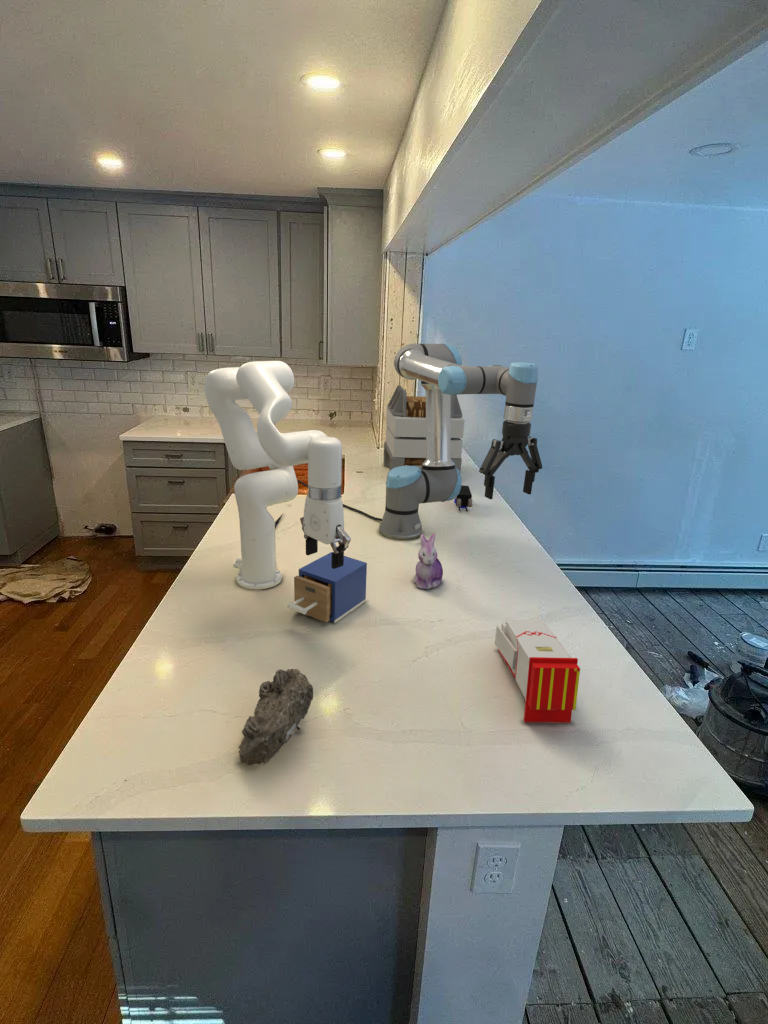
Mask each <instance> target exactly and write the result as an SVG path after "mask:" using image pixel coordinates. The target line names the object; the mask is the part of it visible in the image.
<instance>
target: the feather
mask: <svg viewBox="0 0 768 1024" xmlns="http://www.w3.org/2000/svg"><path fill="white" fill-rule="evenodd" d="M283 515H284V513H282V514H281V515H280V516H279V517H278V518H277V520H275V529H276V528H277V526H278V525H279V522H280V520H281V519H282V517H283Z"/></svg>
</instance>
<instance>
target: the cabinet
mask: <svg viewBox="0 0 768 1024" xmlns="http://www.w3.org/2000/svg"><path fill="white" fill-rule="evenodd" d="M333 552H334V551H330V552H329V553H327V554H326V555H323V556H321V557H319V558H317V559H315V560H314V561H312V562H310V563H308V564H306V565H304V566H302V567H300V568H298V576H300V577H303V578H304V575H306V576H309V577H312V578H315V579H317V580H320V581H323V582H326V583H329V584H332V614H331V615H330V621H329V622H332V623H333V624H335V623H337V622H338V621H340V620H341V619H343V618H344V617H345V616H347V615H349V614H350V613H351V612H353V611H354V610H356V609H357V608H359V607H360V606H361V605H362V604H364V603H366V602H367V573H368V571H367V570H368V562H366V561H362V560H359V559H356V558H354V557H349V556H346V555H344V565H343V566H341V567H338V568H335V569H333V568H332V567H331V564H332V553H333Z"/></svg>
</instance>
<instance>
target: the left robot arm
mask: <svg viewBox="0 0 768 1024" xmlns="http://www.w3.org/2000/svg"><path fill="white" fill-rule="evenodd" d="M203 385H204V387H203V388H204V395H205V399H206V402H207V404H208V407H209V409H210V411H211V413H212V414H213V416H214V418H215V419H216V421H217V423H218V426H219V429H220V432H221V435H222V438H223V441H224V444H225V448H226V451H227V454H228V457H229V460H230V462H231V465H232V466H233V468H235V469H236V470H239V471H247V470H248V471H249V470H255V469H261V468H269V470H263V471H262V470H261V471H255V472H251V473H246V474H244V475H242V476H240V477H238V478H237V479H236V481H235V483H234V487H233V490H234V491H233V492H234V497H235V502H236V505H237V511H238V519H239V534H240V535H239V536H240V555H241V556H240V557H241V558H240V557H237V558H236V560H235V562H234V563H233V568H234V569H237V570H239V573H238V574H237V575H236V583H237V584H238V586H240V587H242V588H244V589H248V590H266V589H270V588H273V587H275V586H277V585H279V584H280V583H281V582H282V580H283V576H282V572H281V571H279V570H278V569H277V549H276V548H277V547H276V546H277V545H276V544H277V543H276V528H275V524H276V523H275V522H276V520H275V519H274V517H273V516H272V514H271V513H270V512H269V511H268V509H267V508H268V507H270V506H274V505H279V504H284V503H288V502H291V501H293V500H295V499H296V498H297V496H298V493H299V482H297V481H298V478H297V475H296V471H295V468H294V466H299V465H305V464H307V485H308V488H307V490H308V491H307V494H306V497H305V500H304V501H305V502H304V509H303V516H302V517H300V518H299V520H300V524H301V530H302V532H303V534H304V535H303V538H304V539H305V555H306V556H311V555H314V554H317V553H318V551H319V550H318V545H319V544H318V543H319V542H320V543H322V544H323V545H324V544H325V545H330V547H331V549H332V552H333V553H332V564H331V567H332V568H333V569H335V568H338V567H341V566H343V565H344V556H345V551H346V550H347V549H348V548H349V545H350V543H351V541H352V538H351V536H350V535H349V534H348V532H347V531H345V514H344V513H345V512H344V507H343V504H344V503H343V500H342V478H343V477H342V476H343V473H342V470H343V444H342V442H341V440H340V439H338V438H336V437H334V436H328V435H327V434H326V433H325V432H323V431H321V430H318V429H309V430H299V431H298V430H297V431H289V432H284V433H282V432H280V431H279V430H278V428H277V427H276V426H275V425H277V424H278V423H280V422H282V420H284V419H285V418H286V417H287V416H288V415H289V413H290V412H291V410H292V407H293V406H292V405H293V401H292V398H291V397H290V395H289V394H288V393H290V392H291V391H292V389H293V388H294V385H295V375H294V373H293V371H292V368H291V367H290V366H289V365H288V364H287V363H286V362H285V361H281V360H254V361H249V362H245V363H243V364H242V365H240V366H230V367H221V368H220V367H219V368H217V369H214V370H211V371H209V372H208V374H207V375H206V376H205V379H204V384H203ZM238 400H241V401H242V400H248V401H249V402H250V403H251V405H252V406H253V408H254V409H255V411H256V412H257V413H258V418H257V423H256V430H255V427H254V425H253V421H252V418H251V416H250V415H249V413H248V412H247V411H246V410H245V409H244V408H243V407H242V406H241V405H240V404H238V403H237V402H236V401H238ZM336 543H337V544H338V546H337V544H336Z"/></svg>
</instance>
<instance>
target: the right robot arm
mask: <svg viewBox="0 0 768 1024" xmlns="http://www.w3.org/2000/svg"><path fill="white" fill-rule="evenodd" d="M393 366H394V369H395V372H396V373H397V374H398V375H399V376H400V377H402V378H404V379H406V380H410V381H414V380H418V381H420V385H421V387H422V388H423V389H424V390H425V397H426V460H425V461H424V462H423V463H422V466H421V467H420V466H407V465H404V466H399V467H396V468H393V469H391V470H390V469H389V470H388V472H387V475H386V480H385V504H384V505H385V507H384V508H385V509H384V513H383V515H382V518H380V517H375V516H373V515H370V514H369V513H367V512H364V511H363V510H360V509H357V508H355V507H352V506H349V505H347V504H344V503H342V504H343V508H345V509H348V510H351V511H354V512H355V513H358V514H361V515H363V516H365V517H367V518H369V519H371V520H374V521H378V522H379V526H378V533H379V534H380V535H381V536H382V537H385V538H387V539H389V540H395V541H410V540H415V539H418V538H420V536H421V534H423V525H422V524H421V518H420V515H419V507H420V506H419V505H420V504H429V503H439V502H440V503H445V502H449V501H453V500H454V499H455V498H456V497H457V495H458V494H459V492H460V489H461V485H462V484H463V482H462V481H463V479H462V475H461V474H460V471H459V470H458V469H457V468H455V463H454V462H453V461H452V460H451V395H457V396H459V395H502V396H505V403H504V411H503V419H504V420H503V422H502V429H501V434H502V438H501V440H498V439H495V438H493V439H492V441H491V445H490V448H489V449H488V452H487V454H486V455H485V458H484V459H483V461H482V464H481V465H480V467H479V470H478V471H479V474H482V475H484V481H483V486H484V497H485V498H487V499H488V500H493V498H494V489H495V481H496V476H494V474H495V473H496V472H497V470H498V469H499V468H500V467H501V465H502V464H503V463H504V461H505V460H506V459H508V458H510V457H513V456H520V458H521V459H522V462H524V464H525V466H526V468H527V469H526V470H525V472H524V473H525V474H524V481H523V486H522V487H523V488H522V492H523V493H525V494H527V495H532V492H533V491H532V490H533V483H534V482H535V480H536V479H535V478H536V474H537V473H539V471H540V470H542V469H543V463H542V459H541V455H540V453H539V449H538V438H537V437H533V436H531V428H532V424H531V422H532V420H533V414H534V406H535V405H534V404H535V400H536V399H535V398H536V391H537V385H538V381H539V378H538V375H539V366H538V364H537V363H533V362H526V361H513V362H511V363H510V364H509V366H508V367H507V366H503V365H500V364H490V365H488V366H487V365H485V366H481V365H480V366H479V365H477V366H472V365H470V366H469V365H463V360H462V356H461V353H460V350H458V348H457V347H456V346H455V345H453V344H447V343H418V342H417V343H416V342H415V343H409V344H406V345H403V346H402V347H401V348H400V349H398V351H397V352H396V353H395V356H394V359H393ZM526 447H528V449H527V448H526ZM297 482H298V484H300V485H302V486H304V487H305V488H307V489H308V484H307V483H305V482H303V481H301V480H299V479H297Z"/></svg>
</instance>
